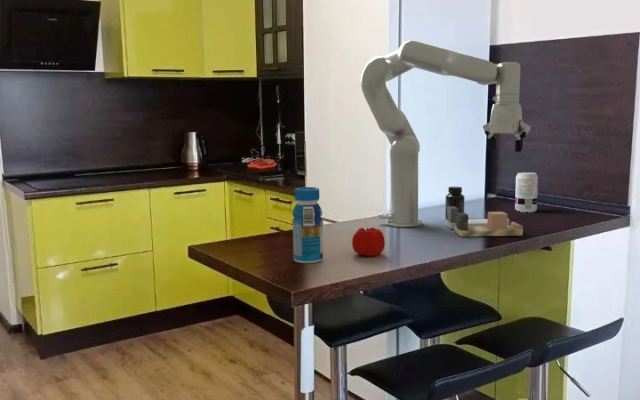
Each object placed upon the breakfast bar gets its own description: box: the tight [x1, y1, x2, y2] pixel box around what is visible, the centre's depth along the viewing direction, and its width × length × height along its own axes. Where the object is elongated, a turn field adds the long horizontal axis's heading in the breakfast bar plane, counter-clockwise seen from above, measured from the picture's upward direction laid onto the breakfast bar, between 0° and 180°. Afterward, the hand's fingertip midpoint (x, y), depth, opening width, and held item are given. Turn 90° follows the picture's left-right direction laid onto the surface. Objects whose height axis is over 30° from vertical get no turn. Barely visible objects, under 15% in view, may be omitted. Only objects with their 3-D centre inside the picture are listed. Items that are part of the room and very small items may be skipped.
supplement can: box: [514, 172, 539, 213], centre depth 247 cm, size 8×8×15 cm
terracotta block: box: [486, 211, 509, 230], centre depth 204 cm, size 5×5×5 cm
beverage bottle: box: [291, 186, 324, 264], centre depth 171 cm, size 8×8×20 cm
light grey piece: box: [445, 206, 510, 230], centre depth 217 cm, size 20×8×7 cm, turn 92°
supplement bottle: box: [444, 186, 466, 221], centre depth 231 cm, size 7×7×12 cm
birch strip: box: [453, 211, 524, 238], centre depth 204 cm, size 20×8×7 cm, turn 92°
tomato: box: [351, 227, 386, 258], centre depth 178 cm, size 9×9×8 cm
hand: (505, 151), depth 212 cm, fingers open, 9 cm apart
